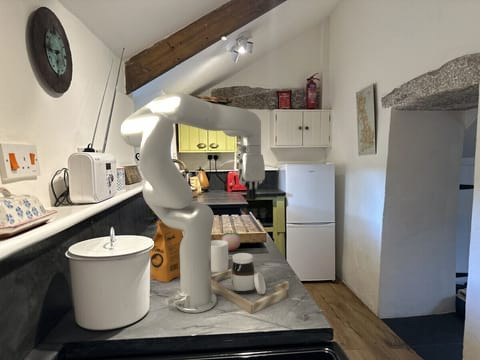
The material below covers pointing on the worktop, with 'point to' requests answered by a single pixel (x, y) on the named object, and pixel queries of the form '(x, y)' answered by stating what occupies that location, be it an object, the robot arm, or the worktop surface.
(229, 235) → the decorative fruit
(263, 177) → the robot arm
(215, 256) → the mug
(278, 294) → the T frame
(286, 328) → the worktop surface
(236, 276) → the spread jar
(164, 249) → the coffee package
